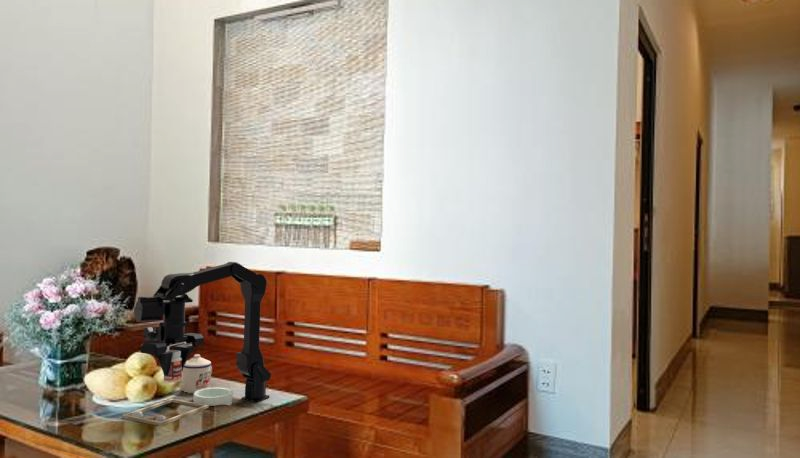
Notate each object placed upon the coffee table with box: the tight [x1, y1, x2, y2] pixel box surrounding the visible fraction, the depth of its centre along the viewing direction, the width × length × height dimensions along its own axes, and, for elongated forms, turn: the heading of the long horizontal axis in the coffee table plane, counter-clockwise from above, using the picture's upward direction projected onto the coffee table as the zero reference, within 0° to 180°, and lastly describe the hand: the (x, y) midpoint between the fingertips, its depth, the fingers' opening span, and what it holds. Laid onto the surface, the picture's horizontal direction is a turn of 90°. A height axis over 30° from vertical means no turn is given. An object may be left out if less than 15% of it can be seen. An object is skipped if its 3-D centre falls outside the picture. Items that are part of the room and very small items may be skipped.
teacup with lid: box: [181, 353, 213, 394], centre depth 197 cm, size 12×9×12 cm
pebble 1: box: [132, 410, 144, 418], centre depth 163 cm, size 3×3×3 cm
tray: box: [121, 398, 209, 427], centre depth 167 cm, size 18×14×2 cm
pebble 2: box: [154, 415, 167, 422], centre depth 160 cm, size 3×3×3 cm
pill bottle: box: [163, 349, 183, 383], centre depth 169 cm, size 5×5×8 cm
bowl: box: [192, 387, 234, 407], centre depth 180 cm, size 11×11×4 cm
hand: (172, 373), depth 169 cm, fingers closed on pill bottle, 5 cm apart
